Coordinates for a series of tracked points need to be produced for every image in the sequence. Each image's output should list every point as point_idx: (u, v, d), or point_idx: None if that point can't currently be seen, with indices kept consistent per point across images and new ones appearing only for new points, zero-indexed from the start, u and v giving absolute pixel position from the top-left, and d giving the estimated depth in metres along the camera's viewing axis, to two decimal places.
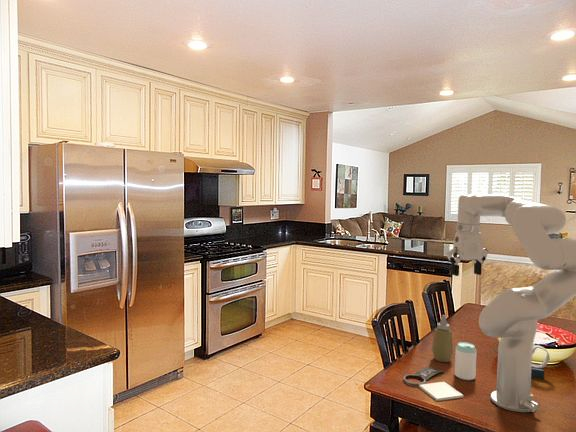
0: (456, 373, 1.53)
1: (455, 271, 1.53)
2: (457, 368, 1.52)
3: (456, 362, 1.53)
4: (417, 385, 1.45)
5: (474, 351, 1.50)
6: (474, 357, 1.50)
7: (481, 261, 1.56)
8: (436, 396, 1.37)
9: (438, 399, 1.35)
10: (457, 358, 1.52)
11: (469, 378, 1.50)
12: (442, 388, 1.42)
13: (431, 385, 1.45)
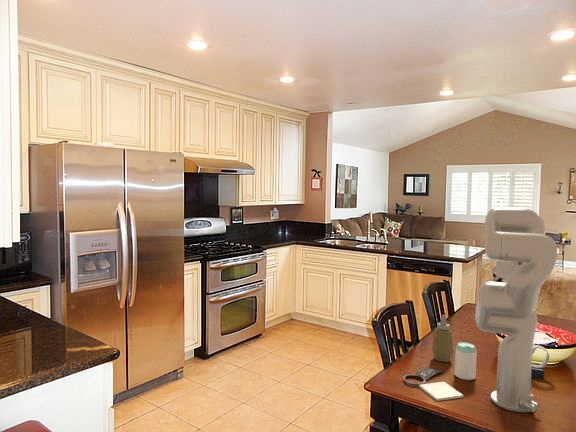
0: (456, 373, 1.53)
1: None
2: (457, 368, 1.52)
3: (456, 362, 1.53)
4: (417, 385, 1.45)
5: (474, 351, 1.50)
6: (474, 357, 1.50)
7: None
8: (436, 396, 1.37)
9: (438, 399, 1.35)
10: (457, 358, 1.52)
11: (469, 378, 1.50)
12: (442, 388, 1.42)
13: (431, 385, 1.45)
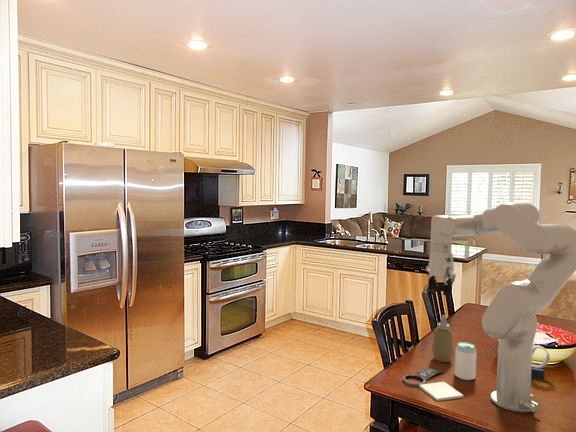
0: (456, 373, 1.53)
1: None
2: (457, 368, 1.52)
3: (456, 362, 1.53)
4: (417, 385, 1.45)
5: (474, 351, 1.50)
6: (474, 357, 1.50)
7: None
8: (436, 396, 1.37)
9: (438, 399, 1.35)
10: (457, 358, 1.52)
11: (469, 378, 1.50)
12: (442, 388, 1.42)
13: (431, 385, 1.45)
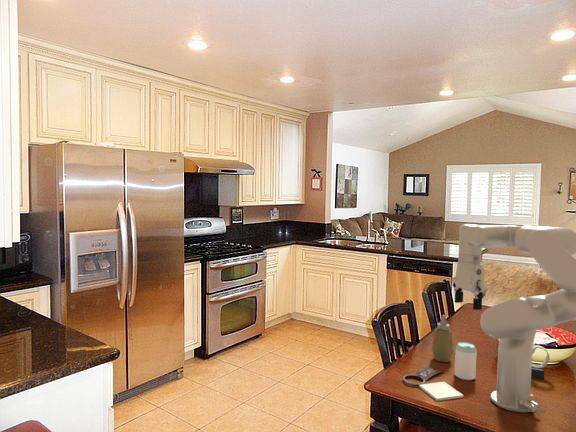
0: (456, 373, 1.53)
1: None
2: (457, 368, 1.52)
3: (456, 362, 1.53)
4: (416, 385, 1.45)
5: (474, 351, 1.50)
6: (474, 357, 1.50)
7: None
8: (436, 396, 1.37)
9: (438, 399, 1.35)
10: (457, 358, 1.52)
11: (469, 378, 1.50)
12: (442, 388, 1.42)
13: (431, 385, 1.45)
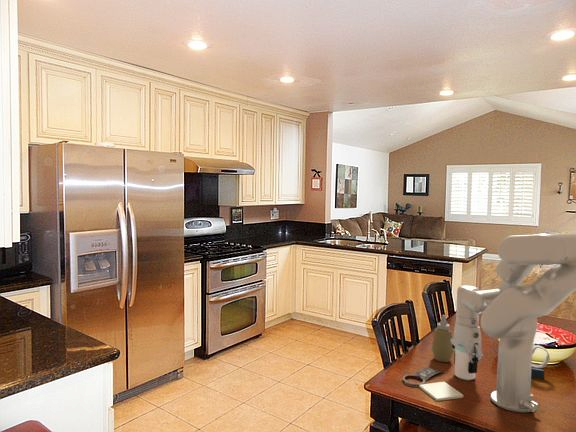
0: (456, 373, 1.53)
1: None
2: (457, 368, 1.52)
3: (456, 362, 1.53)
4: (416, 385, 1.45)
5: None
6: None
7: None
8: (436, 396, 1.37)
9: (438, 399, 1.35)
10: (457, 358, 1.52)
11: (469, 378, 1.50)
12: (442, 388, 1.42)
13: (431, 385, 1.45)
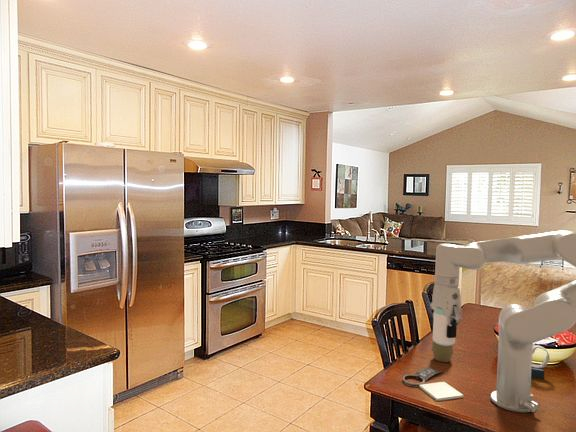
0: (434, 338, 1.41)
1: None
2: (434, 333, 1.41)
3: (434, 326, 1.41)
4: (416, 385, 1.45)
5: (453, 314, 1.38)
6: None
7: None
8: (436, 396, 1.37)
9: (438, 399, 1.35)
10: (435, 322, 1.40)
11: (447, 343, 1.38)
12: (442, 388, 1.42)
13: (431, 385, 1.45)
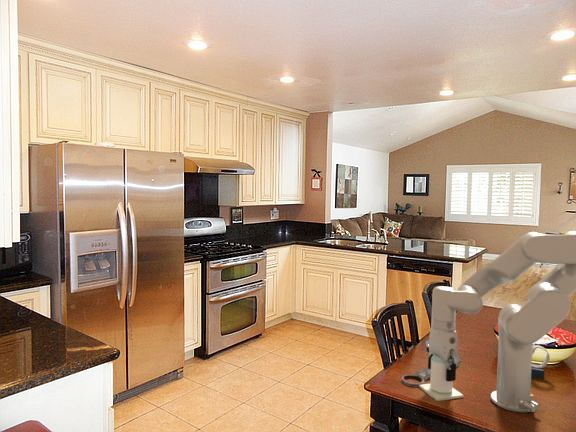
0: (431, 385, 1.41)
1: None
2: (432, 380, 1.40)
3: (431, 373, 1.41)
4: (415, 385, 1.45)
5: (451, 362, 1.38)
6: None
7: None
8: (436, 396, 1.37)
9: (438, 399, 1.35)
10: (432, 369, 1.40)
11: (445, 391, 1.38)
12: None
13: None
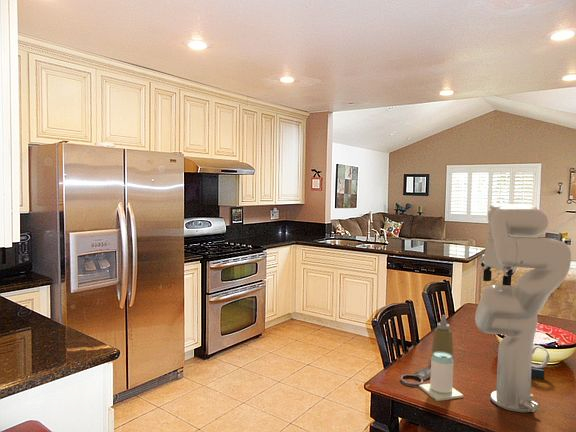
0: (431, 385, 1.41)
1: None
2: (432, 380, 1.40)
3: (431, 373, 1.41)
4: (414, 385, 1.45)
5: (451, 362, 1.38)
6: (451, 368, 1.38)
7: None
8: (436, 396, 1.37)
9: (438, 399, 1.35)
10: (432, 369, 1.40)
11: (445, 391, 1.38)
12: None
13: None
